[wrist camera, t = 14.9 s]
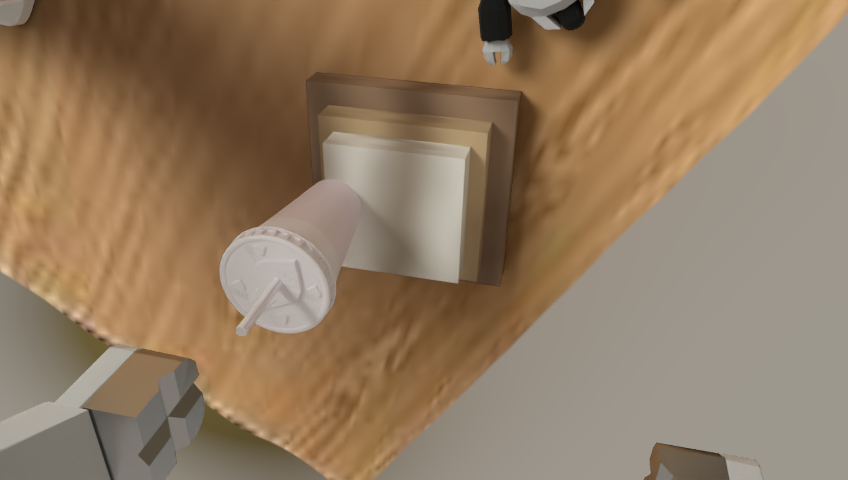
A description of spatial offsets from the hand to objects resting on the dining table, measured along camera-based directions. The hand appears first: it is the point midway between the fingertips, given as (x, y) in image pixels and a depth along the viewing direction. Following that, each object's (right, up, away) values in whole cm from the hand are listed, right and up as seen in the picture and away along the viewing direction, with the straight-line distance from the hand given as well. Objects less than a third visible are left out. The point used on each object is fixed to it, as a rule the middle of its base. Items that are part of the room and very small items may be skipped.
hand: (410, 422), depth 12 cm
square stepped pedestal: (0, +8, +36) cm, 37 cm away
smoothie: (-6, +6, +32) cm, 33 cm away
